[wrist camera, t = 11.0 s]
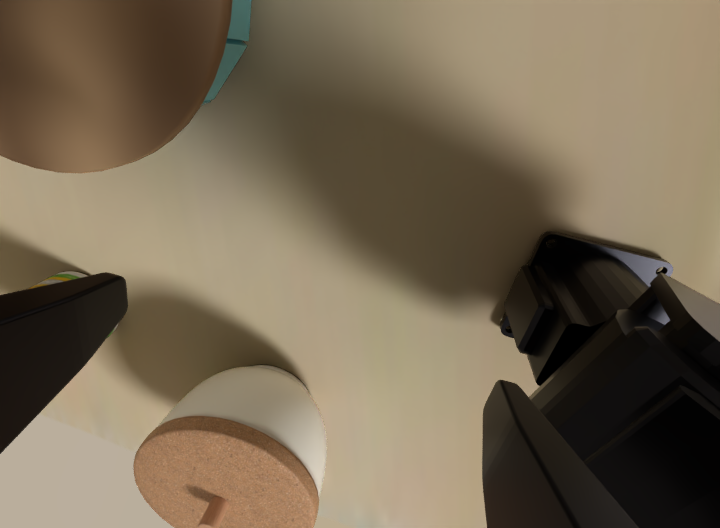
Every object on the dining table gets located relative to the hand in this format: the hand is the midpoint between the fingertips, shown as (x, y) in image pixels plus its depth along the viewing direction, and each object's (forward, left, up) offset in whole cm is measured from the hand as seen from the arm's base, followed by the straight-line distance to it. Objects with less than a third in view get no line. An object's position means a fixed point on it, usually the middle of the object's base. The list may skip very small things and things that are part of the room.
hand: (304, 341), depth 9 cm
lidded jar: (+4, +17, -13) cm, 22 cm away
